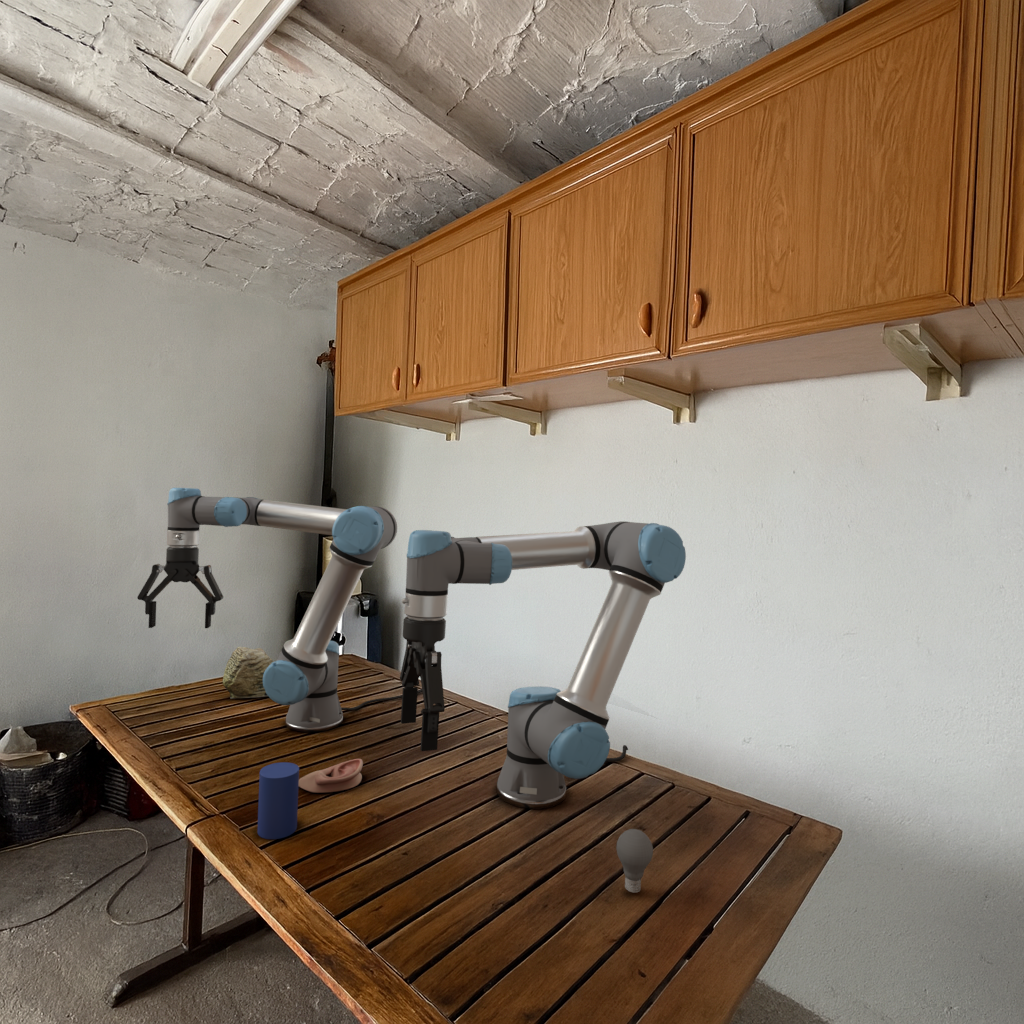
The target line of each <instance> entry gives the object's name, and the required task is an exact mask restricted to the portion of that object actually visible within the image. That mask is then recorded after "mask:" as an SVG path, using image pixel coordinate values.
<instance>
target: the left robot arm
mask: <svg viewBox="0 0 1024 1024" xmlns="http://www.w3.org/2000/svg"><path fill="white" fill-rule="evenodd" d="M203 525H204V526H215V527H216V526H217V527H225V528H228V527H239V526H241V525H246V526H247V525H249V526H256V527H265V528H272V529H281V530H288V531H296V532H304V533H311V534H320V535H327V536H332V540H331V543H330V545H329V551H330V552H329V553H330V554H331V557H330V560H329V562H328V564H327V566H326V568H325V570H324V572H323V575H322V577H321V579H320V580H319V583H318V585H317V588H316V590H315V592H314V594H313V596H312V598H311V599H310V600H311V601H310V602H309V605H308V607H307V609H306V611H305V613H304V615H303V617H302V619H301V622H300V624H299V626H298V628H297V631H296V632H295V635H294V636H293V638H292V639H289V640H286V641H285V642H284V644H283V645H282V648H281V649H280V652H279V653H278V656H277V658H276V659H275V660H274V662H272V663H271V664H270V665H269V666H268V667H267V669H266V670H265V672H264V675H263V687H264V688H265V691H266V694H267V695H268V696H267V697H268V698H269V699H270V700H272V701H273V702H274V703H276V704H279V705H281V706H289V708H288V711H287V713H286V715H285V726H286V728H287V729H289V730H291V731H294V732H295V731H296V732H301V733H316V732H325V731H329V730H332V729H335V728H337V727H339V726H340V725H342V723H343V722H344V714H343V711H349V712H351V711H356V710H359V709H360V708H362V707H364V706H365V705H368V704H371V703H375V702H384V701H385V702H386V701H392V700H398V699H402V694H401V695H395V696H391V697H390V696H389V697H381V698H375V699H370V700H366V701H364V702H362V703H360V704H359V705H357V706H354V707H345V706H344V707H343V706H341V702H340V699H339V695H338V682H339V662H340V661H339V660H340V645H339V643H338V642H337V641H335V640H332V638H333V635H334V634H335V631H336V629H337V628H338V625H339V623H340V621H341V619H342V617H343V614H344V612H345V610H346V609H347V606H348V604H349V602H350V599H351V597H352V596H353V594H354V592H355V590H356V587H357V585H358V583H359V581H360V579H361V576H362V575H363V572H364V570H366V569H370V568H371V567H373V565H374V563H375V561H376V559H377V556H378V555H379V552H380V551H381V550H382V549H384V548H386V547H389V545H391V544H392V543H393V542H394V540H395V538H396V536H397V534H398V522H397V519H396V517H395V516H394V514H393V513H392V512H391V511H390V510H388V509H387V508H384V507H382V506H377V505H376V506H375V505H374V506H373V505H372V506H367V505H357V506H353V507H350V508H347V509H346V508H338V507H329V506H322V505H313V504H306V503H297V502H296V503H295V502H289V501H280V500H279V501H278V500H271V499H263V498H262V499H261V498H258V497H254V496H252V497H251V496H246V497H238V496H237V497H234V496H233V497H232V496H205V495H202V492H201V490H200V488H194V487H193V488H192V487H172V488H170V489H169V491H168V500H167V529H166V545H167V548H166V551H165V553H166V556H165V557H166V558H165V565H163V564H160V563H156V564H153V565H152V567H151V572H150V574H149V576H148V578H147V580H146V581H145V583H144V585H143V586H142V588H141V590H140V591H139V593H138V595H137V599H138V600H139V601H142V602H144V603H145V604H144V605H145V606H144V613H145V615H148V629H153V628H155V627H156V625H157V621H156V620H157V601H156V600H155V599H156V598H157V597H158V595H159V594H160V593H161V592H162V591H164V589H165V588H166V587H167V586H169V584H170V583H172V582H173V583H180V582H181V583H188V582H189V583H191V584H192V585H193V586H195V588H196V589H197V590H198V591H199V593H200V594H201V595H202V596H203V597H204V598H205V599H206V600H207V602H206V603H205V612H204V613H205V615H204V629H209V628H211V627H212V616H214V615H215V614H216V603H217V602H220V601H222V600H223V599H224V595H223V593H222V591H221V588H220V586H219V584H218V583H217V581H216V578H215V577H214V575H213V572H212V565H210V564H207V565H201V566H200V563H199V555H200V553H199V552H200V549H199V547H197V546H199V545H200V527H201V526H203ZM163 571H164V572H165V574H167V575H166V576H165V577H164V579H163V580H162V581H161V582H160V583H159V584H158V585H157V586H156V587H155V588H154V589H153V590H152V591H150V590H151V589H152V587H153V585H154V583H155V582H156V580H157V579H158V577H159V575H160V574H161V573H163ZM199 572H201V574H203V575H204V578H205V580H206V582H207V584H208V586H209V588H210V590H211V591H210V590H209V589H208V587H207V586H206V584H204V583H203V581H201V578H200V577H199V576H198V573H199ZM149 592H150V594H149ZM420 693H423V692H422V688H420V689H418V693H417V695H419V694H420Z"/></svg>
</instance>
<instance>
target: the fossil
mask: <svg viewBox="0 0 1024 1024" xmlns="http://www.w3.org/2000/svg"><path fill="white" fill-rule="evenodd" d="M272 662H275V660H273V659H272V658H271V657H270V656H269V655H268V654H267V653H266V652H265V650H264V649H263V648H260V647H258V648H251V647H247V646H246V647H245V646H238V647H237V648H236V649H235V650H233V651H232V653H231V656H230V657H229V659H228V660H227V663H226V666H225V668H224V671H223V675H222V676H223V677H222V685H223V687H224V688H225V690H226V691H228V693H229V698H230V699H250V698H264V697H269V696H268V695H267V694H266V691H265V688H264V687H263V675H264V672H265V670H266V669H267V667H268V666H269V665H270V664H271V663H272Z"/></svg>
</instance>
